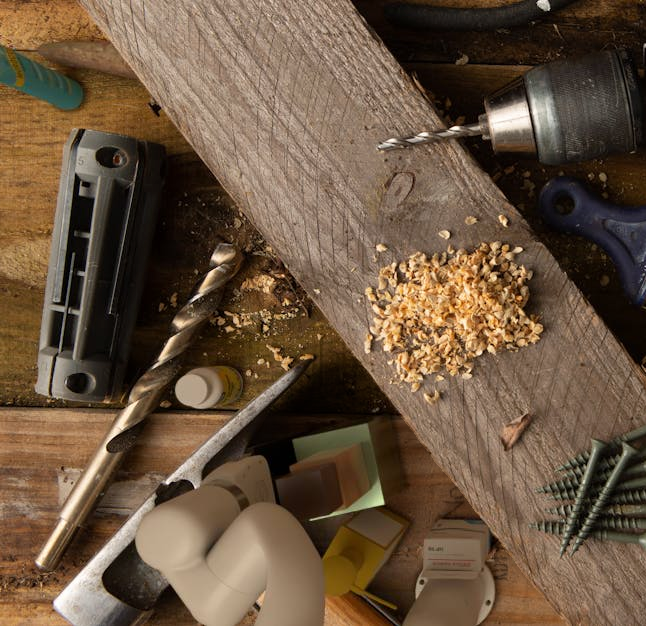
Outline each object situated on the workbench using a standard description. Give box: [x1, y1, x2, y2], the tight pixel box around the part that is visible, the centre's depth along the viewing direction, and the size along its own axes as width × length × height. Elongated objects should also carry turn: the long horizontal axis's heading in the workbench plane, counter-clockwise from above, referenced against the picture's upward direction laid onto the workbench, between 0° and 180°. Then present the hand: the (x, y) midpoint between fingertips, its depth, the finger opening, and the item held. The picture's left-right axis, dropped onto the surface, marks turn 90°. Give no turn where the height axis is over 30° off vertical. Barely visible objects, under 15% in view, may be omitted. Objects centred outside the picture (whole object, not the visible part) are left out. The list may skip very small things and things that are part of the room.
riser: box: [290, 443, 371, 512], centre depth 108 cm, size 7×6×12 cm
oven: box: [292, 412, 406, 522], centre depth 120 cm, size 11×12×13 cm
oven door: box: [245, 428, 318, 506], centre depth 122 cm, size 5×12×13 cm, turn 13°
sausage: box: [37, 40, 140, 81], centre depth 124 cm, size 6×18×6 cm
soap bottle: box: [321, 505, 411, 611], centre depth 115 cm, size 7×13×24 cm, turn 60°
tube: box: [0, 43, 84, 111], centre depth 117 cm, size 7×5×19 cm, turn 32°
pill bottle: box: [174, 365, 244, 410], centre depth 121 cm, size 6×6×11 cm
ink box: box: [420, 518, 491, 579], centre depth 120 cm, size 9×5×15 cm, turn 89°
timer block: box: [275, 462, 343, 523], centre depth 99 cm, size 6×6×6 cm
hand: (273, 482), depth 115 cm, fingers closed
